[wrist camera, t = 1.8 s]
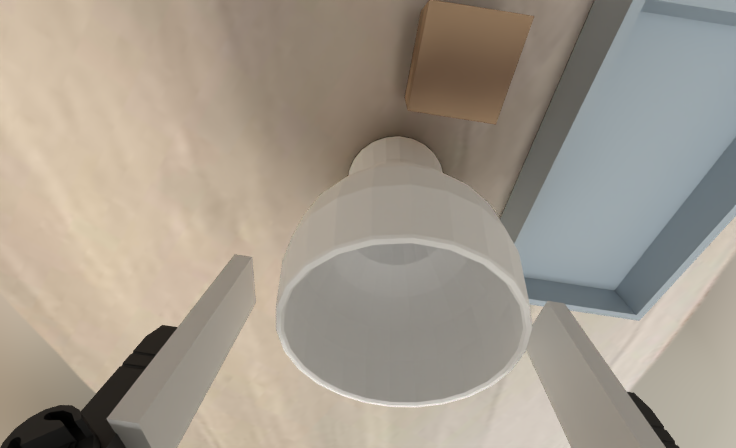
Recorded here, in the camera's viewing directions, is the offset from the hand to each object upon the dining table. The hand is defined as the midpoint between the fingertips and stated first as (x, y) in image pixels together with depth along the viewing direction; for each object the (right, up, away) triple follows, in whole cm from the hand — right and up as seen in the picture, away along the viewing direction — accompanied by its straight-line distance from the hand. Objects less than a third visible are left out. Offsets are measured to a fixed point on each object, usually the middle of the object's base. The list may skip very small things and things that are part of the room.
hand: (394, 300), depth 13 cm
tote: (+17, +7, +9) cm, 21 cm away
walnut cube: (+4, +14, +6) cm, 16 cm away
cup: (+1, +7, +11) cm, 13 cm away
